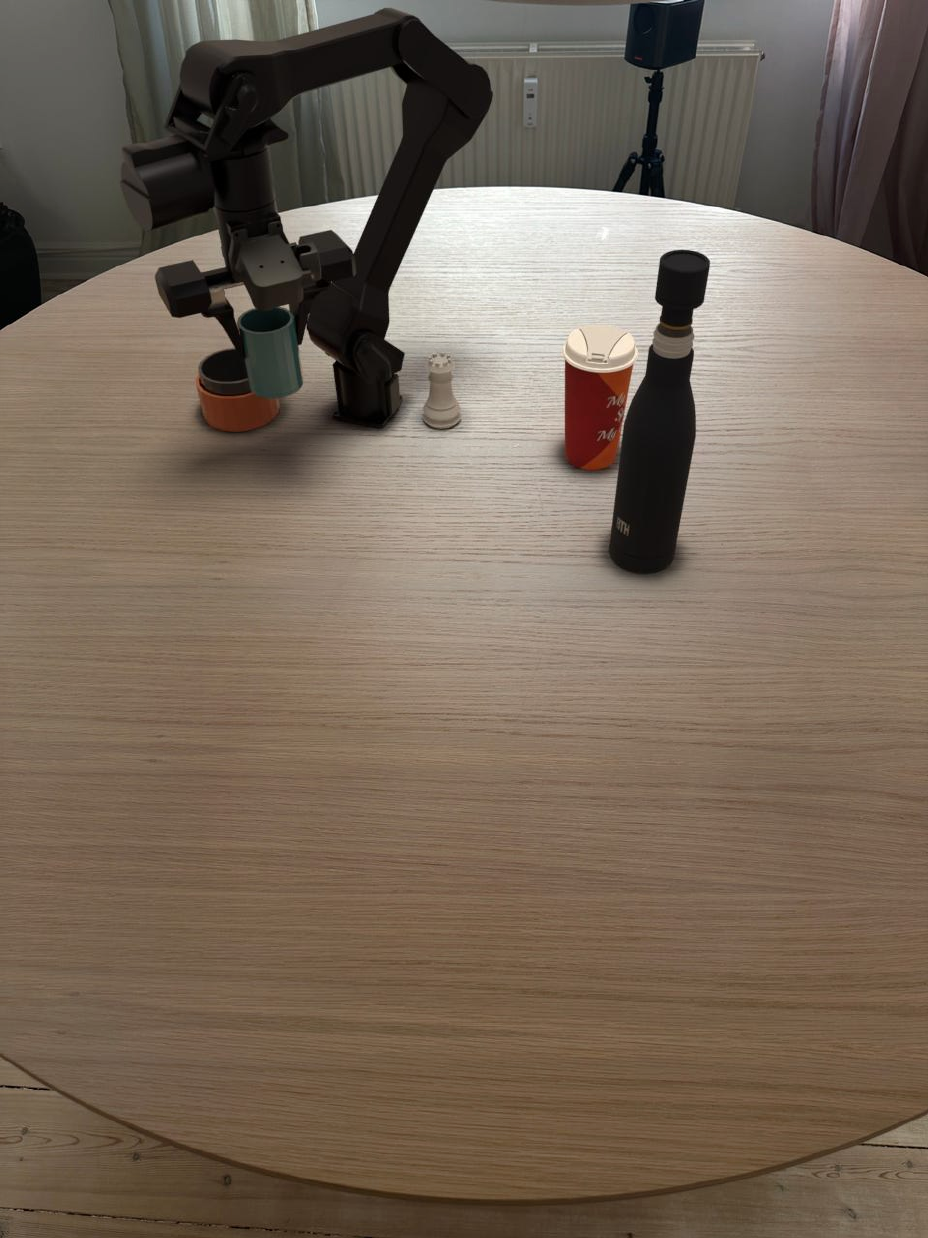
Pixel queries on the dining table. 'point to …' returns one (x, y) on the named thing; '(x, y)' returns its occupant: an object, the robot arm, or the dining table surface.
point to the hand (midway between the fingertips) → (270, 350)
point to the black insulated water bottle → (660, 425)
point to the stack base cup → (236, 410)
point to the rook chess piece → (441, 393)
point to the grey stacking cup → (224, 373)
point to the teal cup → (271, 352)
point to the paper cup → (596, 393)
